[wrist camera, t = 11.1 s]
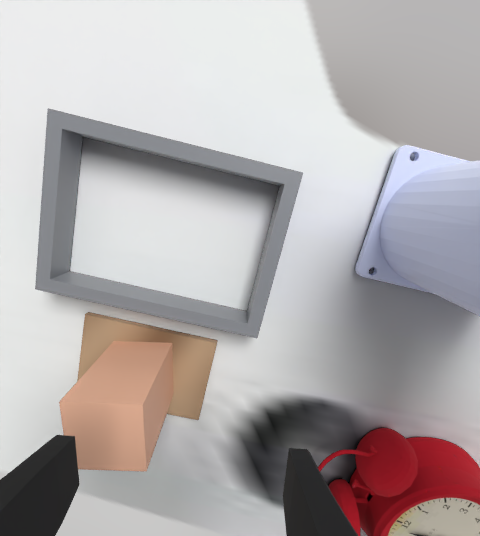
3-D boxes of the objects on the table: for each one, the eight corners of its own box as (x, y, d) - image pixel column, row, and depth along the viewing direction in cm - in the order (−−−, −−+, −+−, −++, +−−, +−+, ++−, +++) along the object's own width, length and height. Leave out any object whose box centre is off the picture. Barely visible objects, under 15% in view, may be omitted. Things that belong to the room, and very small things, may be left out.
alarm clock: (471, 613, 21) (310, 618, 17) (409, 518, 27) (276, 502, 23) (566, 518, 19) (410, 494, 14) (476, 436, 25) (344, 400, 20)
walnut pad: (217, 340, 20) (216, 343, 20) (199, 416, 21) (198, 420, 21) (88, 312, 19) (84, 314, 19) (78, 391, 21) (75, 395, 21)
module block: (172, 342, 20) (142, 404, 14) (173, 393, 21) (146, 471, 15) (113, 340, 20) (59, 402, 14) (117, 391, 20) (68, 468, 15)
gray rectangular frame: (296, 175, 17) (303, 172, 15) (255, 324, 20) (257, 338, 18) (70, 118, 17) (47, 108, 15) (56, 279, 19) (35, 289, 17)
